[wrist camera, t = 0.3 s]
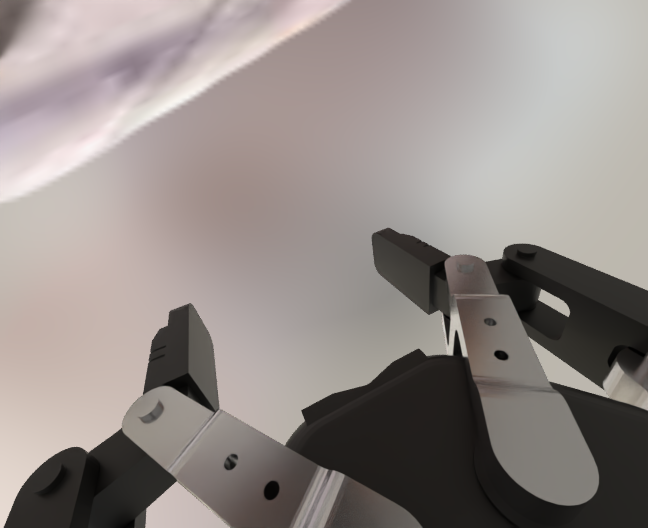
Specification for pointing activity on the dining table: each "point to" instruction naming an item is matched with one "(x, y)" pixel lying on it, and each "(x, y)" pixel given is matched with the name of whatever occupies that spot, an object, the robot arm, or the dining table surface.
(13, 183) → the dining table surface
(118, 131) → the dining table surface
